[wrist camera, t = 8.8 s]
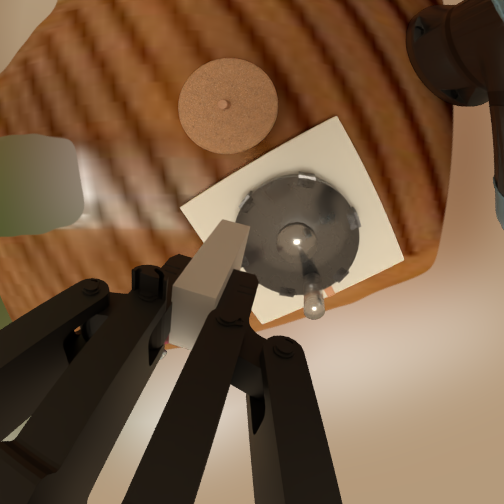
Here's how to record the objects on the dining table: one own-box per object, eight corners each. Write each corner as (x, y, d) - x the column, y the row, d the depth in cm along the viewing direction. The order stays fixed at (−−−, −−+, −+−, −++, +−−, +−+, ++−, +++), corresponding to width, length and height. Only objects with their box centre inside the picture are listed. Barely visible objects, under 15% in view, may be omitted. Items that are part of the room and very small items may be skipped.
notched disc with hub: (215, 202, 39) (192, 226, 31) (335, 155, 34) (348, 166, 26) (262, 299, 45) (254, 341, 36) (370, 265, 40) (387, 302, 31)
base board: (335, 116, 34) (337, 115, 32) (401, 255, 40) (404, 260, 39) (183, 204, 42) (179, 208, 40) (263, 318, 48) (261, 325, 47)
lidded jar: (211, 61, 33) (187, 46, 24) (291, 81, 33) (290, 69, 24) (190, 135, 38) (161, 142, 29) (267, 157, 38) (258, 169, 29)
